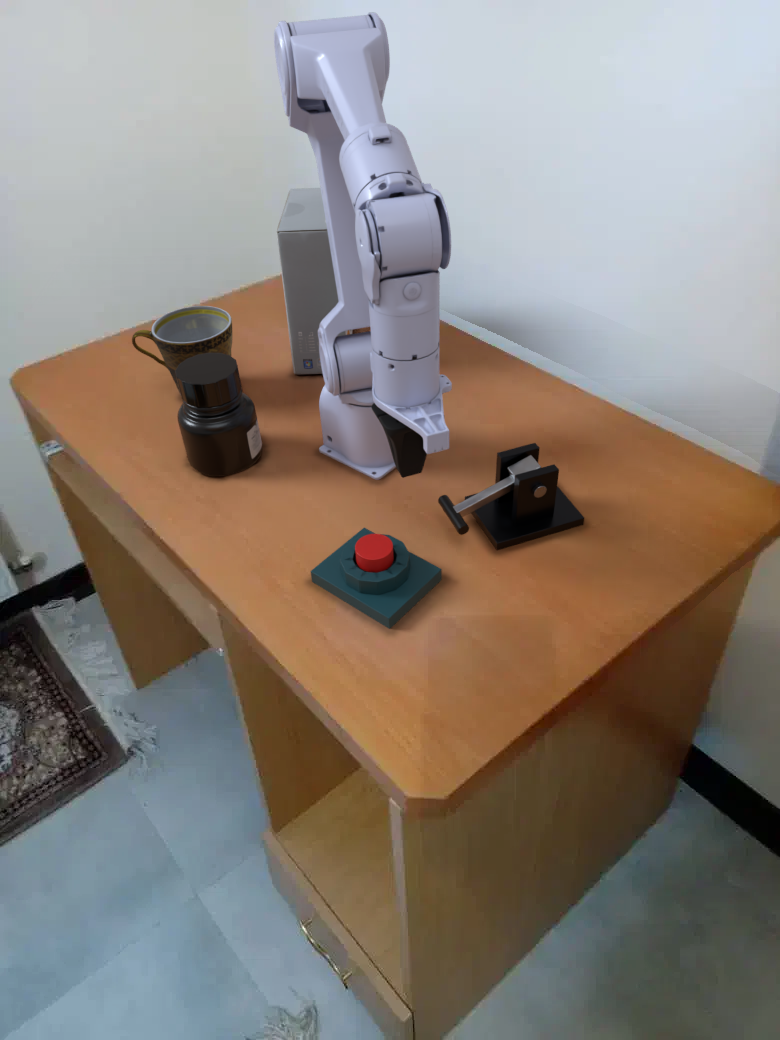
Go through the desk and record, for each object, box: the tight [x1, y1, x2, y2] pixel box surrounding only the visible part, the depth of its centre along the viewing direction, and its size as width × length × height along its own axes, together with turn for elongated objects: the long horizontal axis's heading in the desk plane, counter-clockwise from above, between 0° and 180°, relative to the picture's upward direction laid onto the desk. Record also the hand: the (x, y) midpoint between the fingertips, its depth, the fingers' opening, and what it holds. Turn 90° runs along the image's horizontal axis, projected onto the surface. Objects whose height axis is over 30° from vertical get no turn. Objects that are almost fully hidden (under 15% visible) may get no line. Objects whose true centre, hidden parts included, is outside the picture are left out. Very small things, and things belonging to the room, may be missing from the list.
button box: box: [310, 527, 443, 630], centre depth 77 cm, size 10×8×4 cm
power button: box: [355, 533, 394, 573], centre depth 75 cm, size 4×4×2 cm
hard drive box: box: [276, 187, 354, 376], centre depth 107 cm, size 16×8×20 cm, turn 179°
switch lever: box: [437, 455, 542, 536], centre depth 81 cm, size 10×5×2 cm, turn 109°
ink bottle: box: [175, 353, 263, 477], centre depth 91 cm, size 10×9×12 cm
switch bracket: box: [464, 442, 585, 551], centre depth 82 cm, size 10×8×7 cm
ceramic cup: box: [131, 305, 233, 396], centre depth 102 cm, size 13×10×10 cm
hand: (409, 471), depth 75 cm, fingers closed
